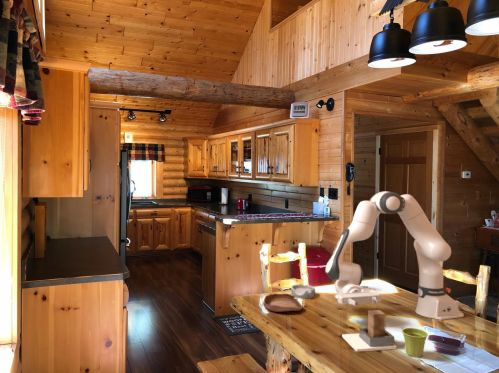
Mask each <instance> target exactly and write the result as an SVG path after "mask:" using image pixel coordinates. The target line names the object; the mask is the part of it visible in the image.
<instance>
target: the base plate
mask: <svg viewBox="0 0 499 373" xmlns="http://www.w3.org/2000/svg"><path fill="white" fill-rule="evenodd" d="M341 335H342V336H341V337H342V339H344V340H345V341H346V342H347V343H348V344H349V346H350V347H351V348H352V349H353V350H354V351H355V352H357V353H358V352H372V351H373V352H374V351H386V350H388V351H389V350H397V345H396V344H394V345H391V346H376V347H370V346H369V345H368V344H366V343H365V342H364V341H363V340H362V339H361V338H360V337H359V333H345V334H341Z"/></svg>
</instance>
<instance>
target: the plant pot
mask: <svg viewBox="0 0 499 373" xmlns="http://www.w3.org/2000/svg"><path fill="white" fill-rule="evenodd" d="M401 332H402V335H403V339H404V346H405V348H404V349H405V354H406V355H408V356H412V357H414V358H421V357H423V356H422V355H424V350H425V345H426V340H427V337H428V336H429V333H428V332H427V331H425V330H423V329H421V328H416V327H405V328H402V329H401Z"/></svg>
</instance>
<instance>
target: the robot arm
mask: <svg viewBox="0 0 499 373" xmlns="http://www.w3.org/2000/svg"><path fill="white" fill-rule="evenodd" d="M380 214H387V215H392V214H398V216H399V217H400V219H401V221H402V223H403V224H404V226H405V227H406V229H407V231H408V233H409V234H410V235H411V237H412V238H414V242H413V247H414V249H415V252H416V257H417V258H416V259H417V264H418V271H419V272H418V274H419V275H418V278H419V281H418V286H417V288H418V289H417V295H418V296H417V297H418V298H417V304H416V307H415V312H414V313H416V314H418V315H419V316H422V317H426V318H430V319H436V320H440V321H444V320H451V319H457V318H464V313H463V312H462V311H460V310H459V305H458V303H457V301H456V300H455V299H453V298H452V297H451V296H449V295H448V294H447V293H451V292H452V290H451V288H449V287H445V286H444V270H443V268H442V265H441V262H446V261H447V260H448V259H450V257H451V254H452V249H451V246H450V245H449V243H447V242H446V241H445V239H444V238H443V237H442V236H441V234H440V233H439V232H438V230H437V229H436V228H435V227H434V225H433V224H432V223H431V222H430V220H429V219H428V216H427V215H426V213H425V212H424V210H423V209H422V207H421V205H420V204H419V203H418V201H417V199H415V197H414V196H413V195H411V194H408V193H407V194H401V195H399V194H397V193H396V192H393V191H386V190H385V191H378V192H376V193H374V194H373V195H372V196H371V197H370V198H369V200H362V201H360V202H359V203H358V205H357V207H356V210H355V212H354V215H353V218H352V222H351V223H350V225H349V226H348V228H345V229H344V230H342V232H341V234H340V236H339V239H338V240H337V243H336V245H335V247H334V249H333V251H332V254H331V256H330V257H329V260H328V261H327V262H326V265H325V269H324V270H325V274H326V275H327V277H328V278H329V279H330V280H336V281H335V283H334V288H335V292H336V293H337V294H334V296H333V298H334V299H336V300H337V302H338V303H339V305H343V306H344V305H353V306H355V307H356V306H359V305H358V304H370V303H372V304H373V305H377V304H378V303H380V302H382V294H381V293H380V292H379V291H376V290H375V289H372V287H371V286H366V285H364V286H363V285H361V284H362V282H363V278H364V272H363V269H362V267H361V265H360V264H357V263H354V262H350V261H349V262H348V261H344V260H342V258H343V255H344V253H345V252H346V249H347V247H348V245H350V244H351V243H354V242H359V241H364V240H367V239H369V238H370V237H371V236H372V235H373V233H374V230H375V227H376V223H377V222H376V221H377V219H378V217H379V215H380Z"/></svg>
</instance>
